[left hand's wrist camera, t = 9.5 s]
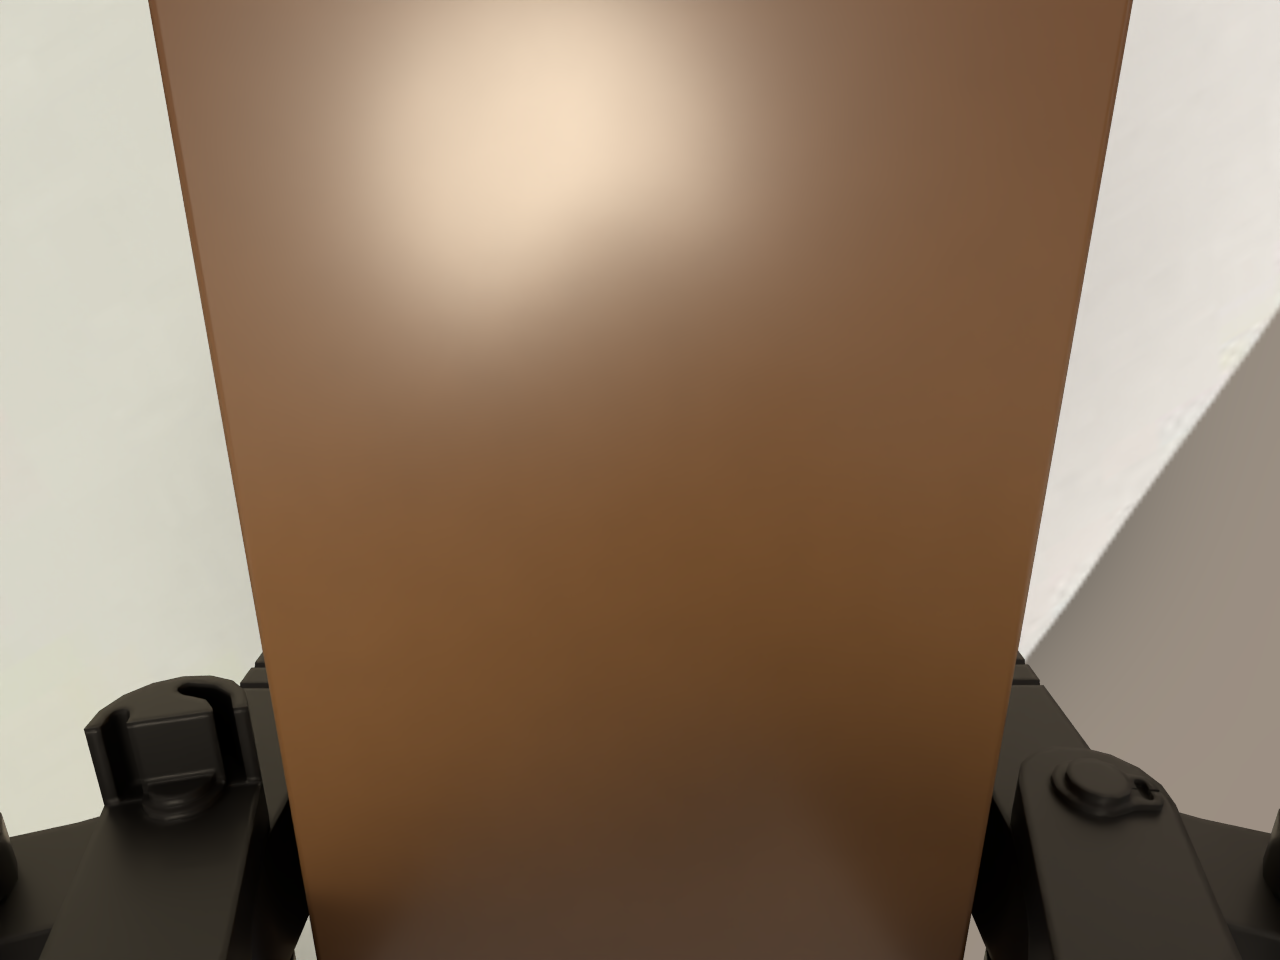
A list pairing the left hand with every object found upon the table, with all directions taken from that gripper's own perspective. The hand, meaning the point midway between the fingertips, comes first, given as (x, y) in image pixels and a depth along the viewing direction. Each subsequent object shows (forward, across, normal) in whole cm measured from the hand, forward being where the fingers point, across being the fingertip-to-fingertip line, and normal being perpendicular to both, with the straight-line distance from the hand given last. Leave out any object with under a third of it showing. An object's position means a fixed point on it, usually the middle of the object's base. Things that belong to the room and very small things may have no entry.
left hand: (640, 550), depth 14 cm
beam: (+1, 0, -26) cm, 26 cm away
